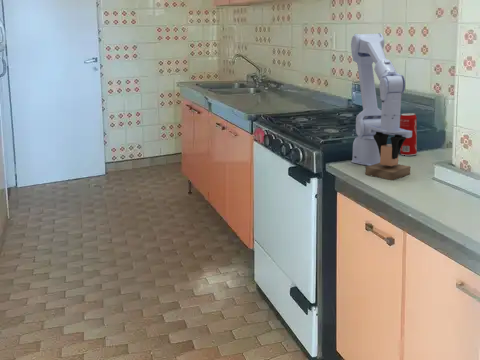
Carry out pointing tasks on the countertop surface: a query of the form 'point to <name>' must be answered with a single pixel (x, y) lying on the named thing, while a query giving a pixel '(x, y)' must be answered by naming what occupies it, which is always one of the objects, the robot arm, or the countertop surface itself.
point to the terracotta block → (387, 156)
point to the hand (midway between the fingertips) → (388, 157)
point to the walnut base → (388, 171)
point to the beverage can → (410, 144)
